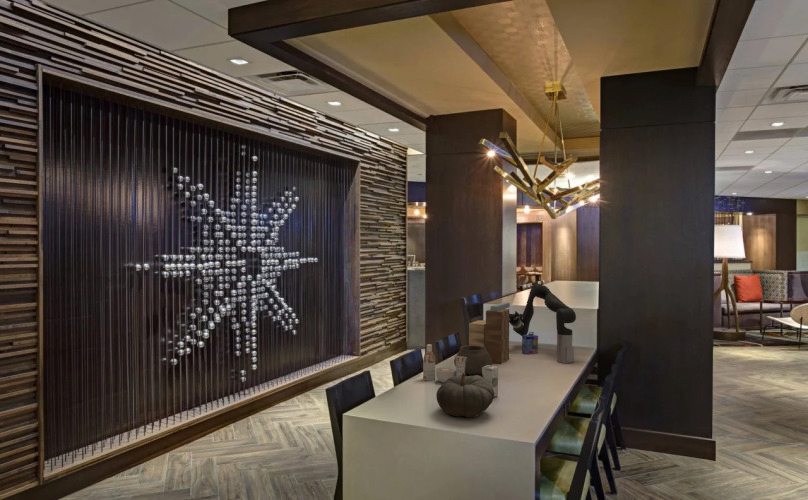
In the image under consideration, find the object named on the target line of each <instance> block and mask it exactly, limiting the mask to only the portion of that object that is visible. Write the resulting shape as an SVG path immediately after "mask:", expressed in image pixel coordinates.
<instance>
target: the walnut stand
mask: <svg viewBox="0 0 808 500" xmlns="http://www.w3.org/2000/svg"><path fill="white" fill-rule="evenodd" d="M509 314H510V308H506V309H503V310H500V311H497V312H496V311H491V308H490V309H488V310H486V311H485V321H486V350H487V352H488V353H489V355H490V356H491V359H492V364H499V365H502V364H504V363H505V362H507V361H508V360H510V322H509Z"/></svg>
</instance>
